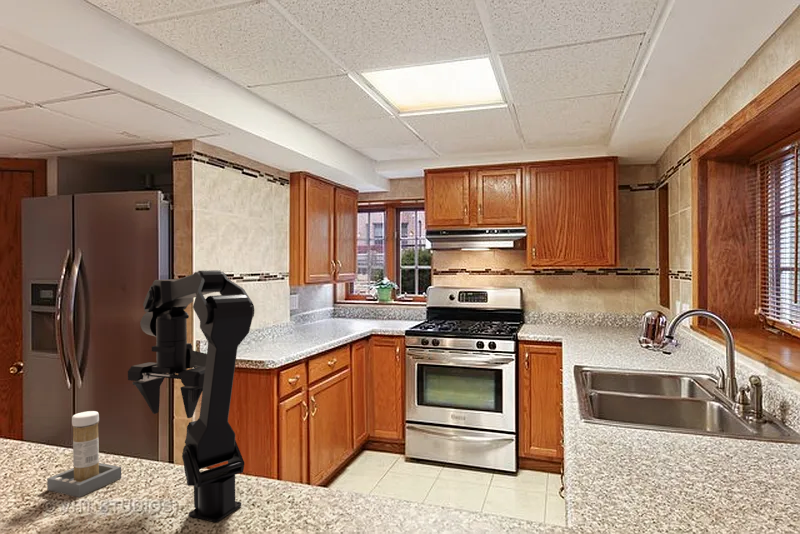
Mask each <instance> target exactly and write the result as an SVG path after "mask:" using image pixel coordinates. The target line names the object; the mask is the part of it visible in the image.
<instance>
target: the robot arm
mask: <svg viewBox="0 0 800 534" xmlns="http://www.w3.org/2000/svg"><path fill="white" fill-rule="evenodd" d="M212 293H219V294H220V295H209V294H212ZM204 295H205V296H206V295H209V296H207V297H205V296H204ZM194 298H195V299H194ZM192 303H193V305H192V308H193V311H194V312H195V314H196V316H197V318H198V319H199V321H200V322H199V328H200V330H201V332H202V334H203V336H204V337H205V339H206V340H207V349H206V350H207V351H206V353H205V352H201V351H197V350H194V349H193V344H192V343H191V342H188V338H187V337H188V334H187V333H188V332H187V330H188V329H187V328H188V326H187V325H188V324H187V323H188V321H187V320H189V313H188V312H187V311H185V310H186V309H187V307H188V306H189V305H191V304H192ZM142 306H143V310H144V311H143V312H144V314H143V316H142V317H141V319H140V321H139V322H140V328H141V331H142V332H143V333H145V334H146V335H149V336H153V337H155V339H156V341H155V342H156V344H155V345H153V346H151V352H156V362H153V361H151V362H150V361H149V362H144V363H140V364H134V365H131V366H130V368H129V369H128V371H127V380H128V381H132V385H134V386H135V387H136V389H138V392H140V395H142V397H143V399H144V400H145V403H146V404H147V406H148V408H149V409H150V411H151V412H152V414H154V415H155V414H158V413H159V411H160V402H161V401H160V398H161V394H160V393H161V386H162V384H163V382H164V380H165V379H175V380H176V379H177V380H180V383H182V385H183V386H180V391H181V392H180V394H181V398H182V401H183V402H182V403H183V407H184V412H185V415H186V418H187V419H191V418H193V417H194V414H195V411H196V408H197V405H198V404H199V399H200V398H201V401H200V402H201V403H200V410H199V417H198V419H197V420H193V421H189V422H188V424H187V426H186V433H185V434H186V436H185V440H184V444H185V445H184V446H183V449H182V452H181V453H182V455H181V458H182V459H181V460H182V461H183V466H184V467H183V469H184V475H185V478H186V486H188V487H193V507H194V509H192V510H191V511H189V512H188V517H191V518H196V519H200V520H205V521H209V522H214V523H218V522H220V521H221V520H223V519H224V518H226V517H228V515H230V514H231V513H233V512H234V511H236V510H237V509H239V508H240V507H241V506H242V502H241V501H236V475H238V474H243V473H244V469H245V461H244V459H243V456H242V454H241V450H240V448H239V446H238V443H237V440H236V432H235V431H234V430H233V428H232V426H231V424H230V423H229V416H230V408H231V399H232V393H233V384H234V378H235V372H236V371H235V369H236V362H237V355H238V347H239V346H240V345H241V343H242V342H243V341H244V339H245V338H246V337H247V336H248V335H249V333H250V330H251V326H252V322H253V319H254V316H255V306H254V303H253V301H252V300H251V298H250V296H249V295H248V293H247V292H246V291H245V289H244V288H243V287H242V286H240V285H238V284H237V283H236V282H234V281H232V280H230V279H229V277H228V276H227V275H226V273H225V272H224V271H221V270H216V269H215V270H211V269H210V270H198V271H194V272H193V274H190V275H189V274H188V275H186V276H184V277H181V278H178V279H176V278H175V279H173V278H172V279H155V280H154V281H152V284H151V285H150V286H149V289H148V291H147V293H146V295H145V298H144V302H143V304H142ZM226 462H227V463H226ZM222 463H225V464H222ZM220 464H221V465H220ZM215 465H219V466H215ZM213 466H215V467H213ZM210 467H212V468H210ZM205 468H209V469H205ZM203 469H205V470H203ZM201 470H202V471H201Z"/></svg>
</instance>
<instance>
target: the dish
mask: <svg viewBox="0 0 800 534" xmlns="http://www.w3.org/2000/svg"><path fill="white" fill-rule="evenodd" d="M46 479H47V482H46V483H47V491H50V492H55V493H59V494H63V495H67V496H71V497H77V498H81V497H83V496H85V495H87V494H90V493H92V492H94V491H97V490H98V489H101V488H103V487H104V486H107V485H109V484H111V483H113V482H116V481H118V480H120V479H122V466H117V465H115V464H114V465H113V464H107V463H102V462H99V475H96V476H94V477H92V478H89V479H87V480H85V481H82V482H77V481H75V480H73V479H74V467H72V468H70V469H68V470H66V471H63V472H60V473H58V474H54V475H53V476H50V477H47V478H46Z"/></svg>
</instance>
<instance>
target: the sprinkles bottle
mask: <svg viewBox="0 0 800 534" xmlns="http://www.w3.org/2000/svg"><path fill="white" fill-rule="evenodd" d="M99 422H100V414H99V412H98V411H96V410H88V411H82V412H77V413H75V414H73V415H72V417H71V425H72V433H73V435H72V438H73V440H72V454H73V456H72V459H73V461H72V464H73V468H74V479H73V480H75V481H77V482H82V481H85V480H87V479H89V478H92V477H94V476H96V475H99V463H100V461H99V460H100V455H99V452H100V450H99V449H100V448H99V447H100V445H99V443H100V442H99V440H100V439H99Z"/></svg>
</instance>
